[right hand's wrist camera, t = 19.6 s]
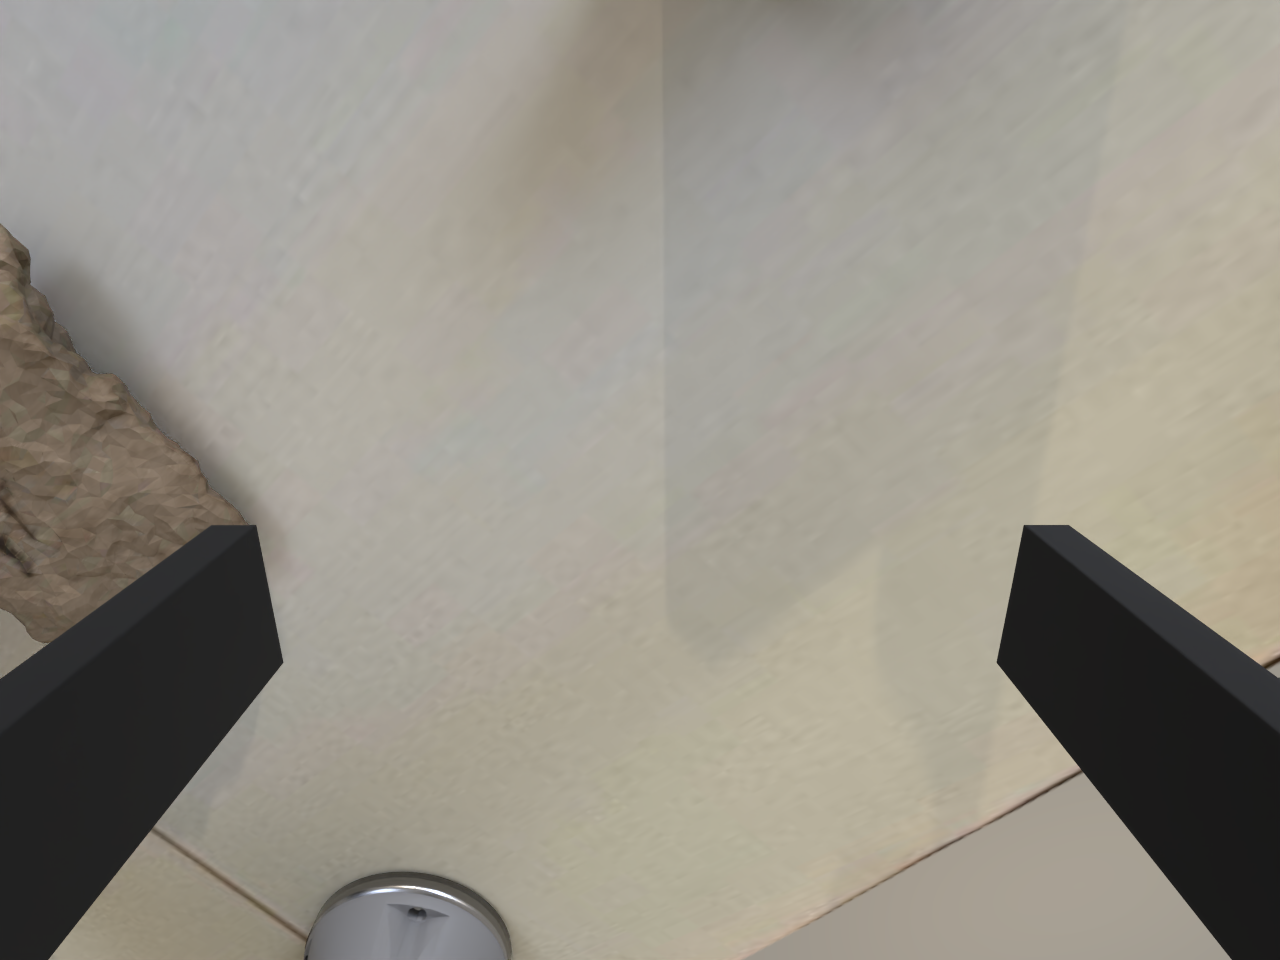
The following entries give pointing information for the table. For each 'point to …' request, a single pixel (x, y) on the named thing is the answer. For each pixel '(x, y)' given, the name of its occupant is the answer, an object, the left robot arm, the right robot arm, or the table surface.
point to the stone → (80, 471)
